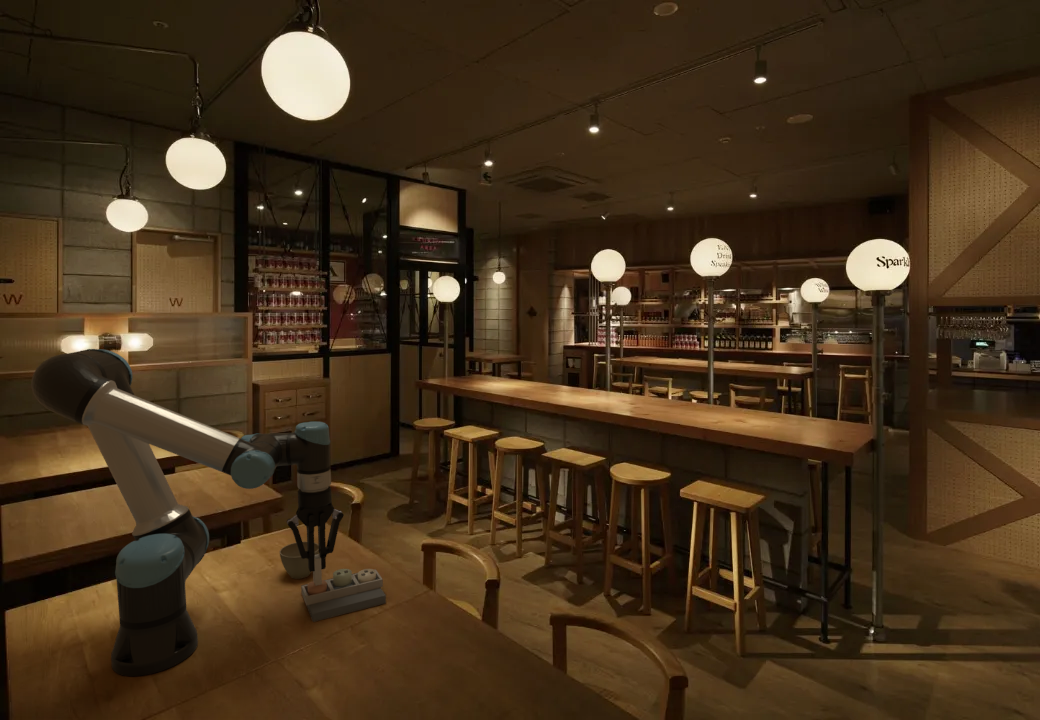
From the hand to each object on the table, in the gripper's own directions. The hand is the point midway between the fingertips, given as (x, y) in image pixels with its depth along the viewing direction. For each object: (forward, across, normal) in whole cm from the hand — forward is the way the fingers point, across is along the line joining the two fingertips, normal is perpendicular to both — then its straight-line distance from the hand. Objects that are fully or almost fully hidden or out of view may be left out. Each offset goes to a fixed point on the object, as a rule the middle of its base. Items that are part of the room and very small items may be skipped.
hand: (317, 582), depth 139 cm
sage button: (+2, +6, 0) cm, 6 cm away
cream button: (+3, +12, 0) cm, 12 cm away
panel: (+6, +6, 0) cm, 8 cm away
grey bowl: (+6, -1, +18) cm, 19 cm away
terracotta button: (+3, 0, 0) cm, 3 cm away
